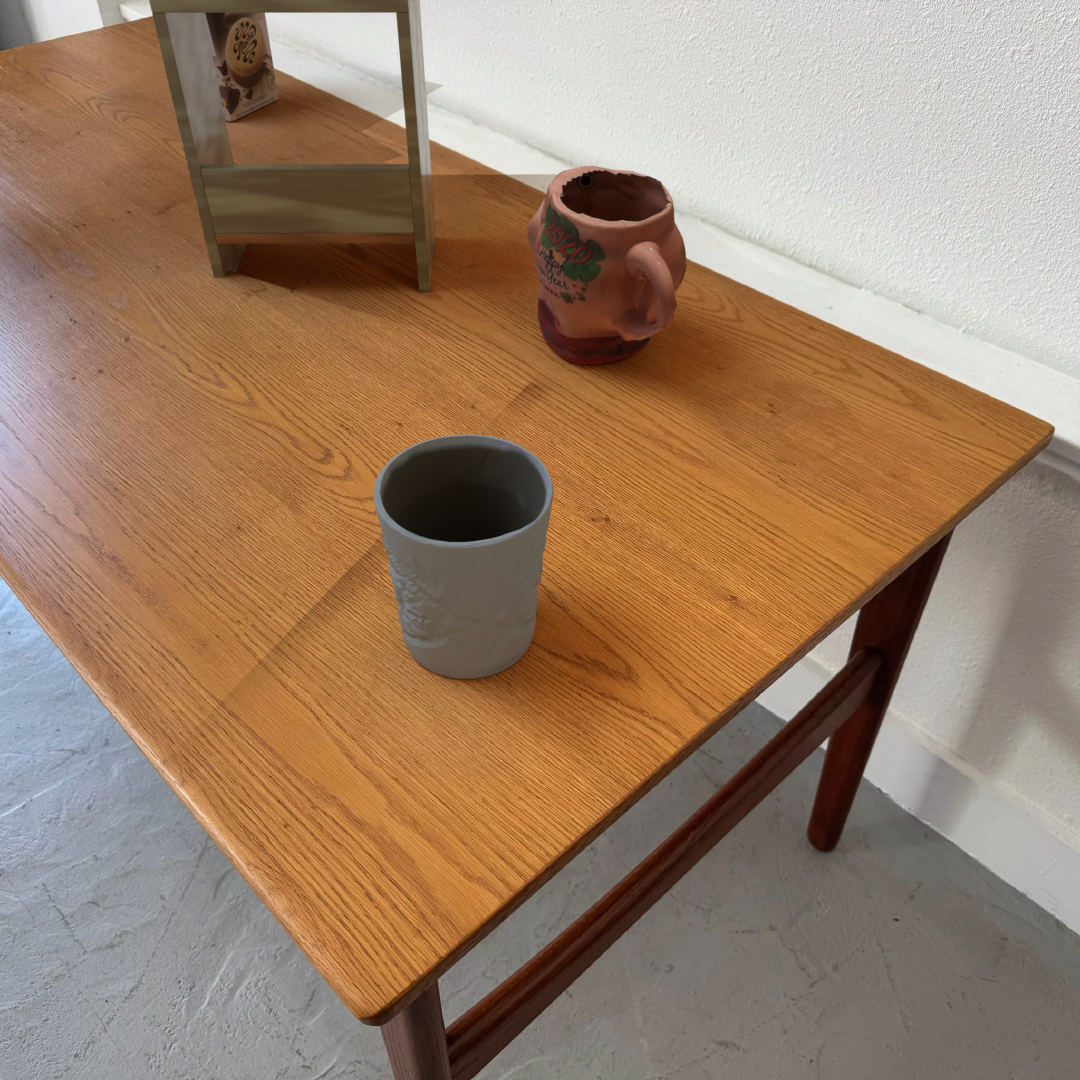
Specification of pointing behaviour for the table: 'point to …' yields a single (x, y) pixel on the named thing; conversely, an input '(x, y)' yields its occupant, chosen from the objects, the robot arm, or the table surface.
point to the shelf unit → (295, 189)
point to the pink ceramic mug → (605, 263)
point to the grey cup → (465, 549)
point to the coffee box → (242, 61)
